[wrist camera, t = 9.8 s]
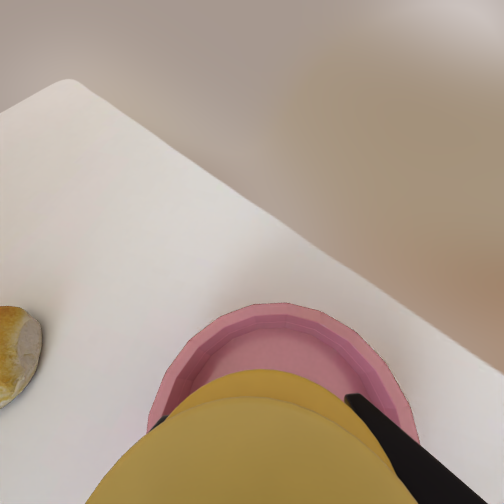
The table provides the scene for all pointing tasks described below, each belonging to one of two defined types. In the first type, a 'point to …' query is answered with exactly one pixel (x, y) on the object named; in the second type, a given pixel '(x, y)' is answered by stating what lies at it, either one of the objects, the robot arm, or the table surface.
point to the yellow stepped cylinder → (256, 450)
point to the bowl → (284, 358)
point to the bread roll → (17, 351)
